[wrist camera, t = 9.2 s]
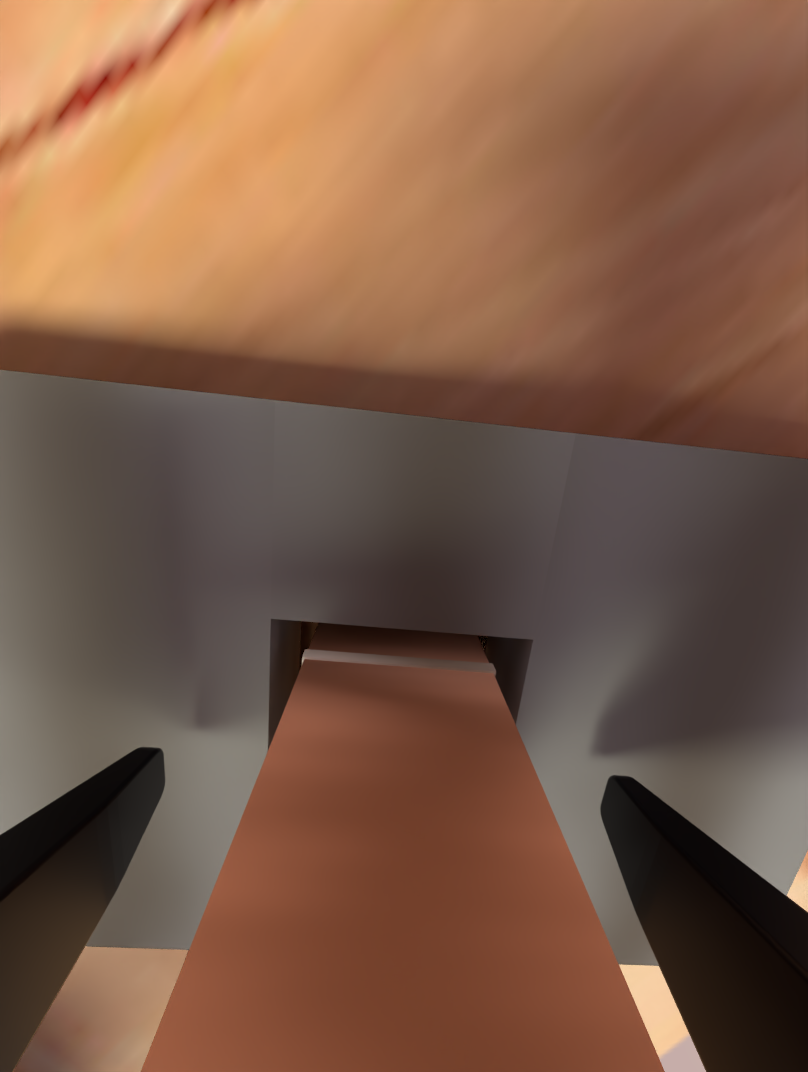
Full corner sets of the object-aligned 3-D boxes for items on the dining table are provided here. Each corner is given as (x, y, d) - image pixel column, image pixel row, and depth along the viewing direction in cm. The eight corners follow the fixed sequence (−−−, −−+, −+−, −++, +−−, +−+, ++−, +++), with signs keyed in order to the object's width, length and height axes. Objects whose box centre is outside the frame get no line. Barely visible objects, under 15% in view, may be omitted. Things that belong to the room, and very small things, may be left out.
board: (40, 825, 13) (-65, 941, 10) (-35, 373, 9) (-230, 344, 6) (676, 857, 14) (751, 968, 11) (819, 466, 10) (982, 478, 8)
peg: (319, 717, 12) (126, 1460, 3) (327, 596, 11) (79, 1202, 2) (449, 726, 12) (590, 1441, 4) (467, 608, 11) (730, 1199, 3)
